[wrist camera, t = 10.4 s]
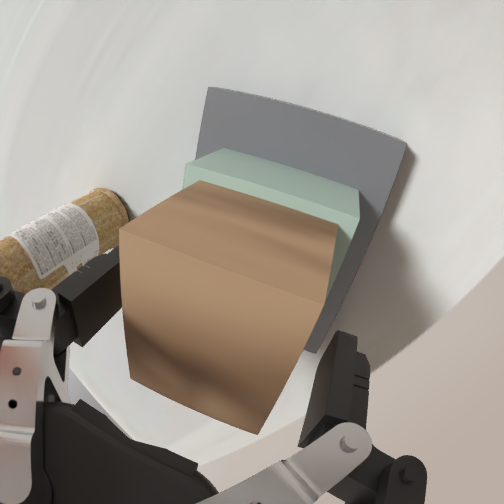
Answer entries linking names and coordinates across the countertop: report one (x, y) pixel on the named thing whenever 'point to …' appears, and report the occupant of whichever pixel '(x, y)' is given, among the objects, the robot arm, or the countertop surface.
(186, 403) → the walnut brick
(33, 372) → the robot arm
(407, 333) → the countertop surface
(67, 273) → the sprinkles bottle
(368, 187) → the build plate
